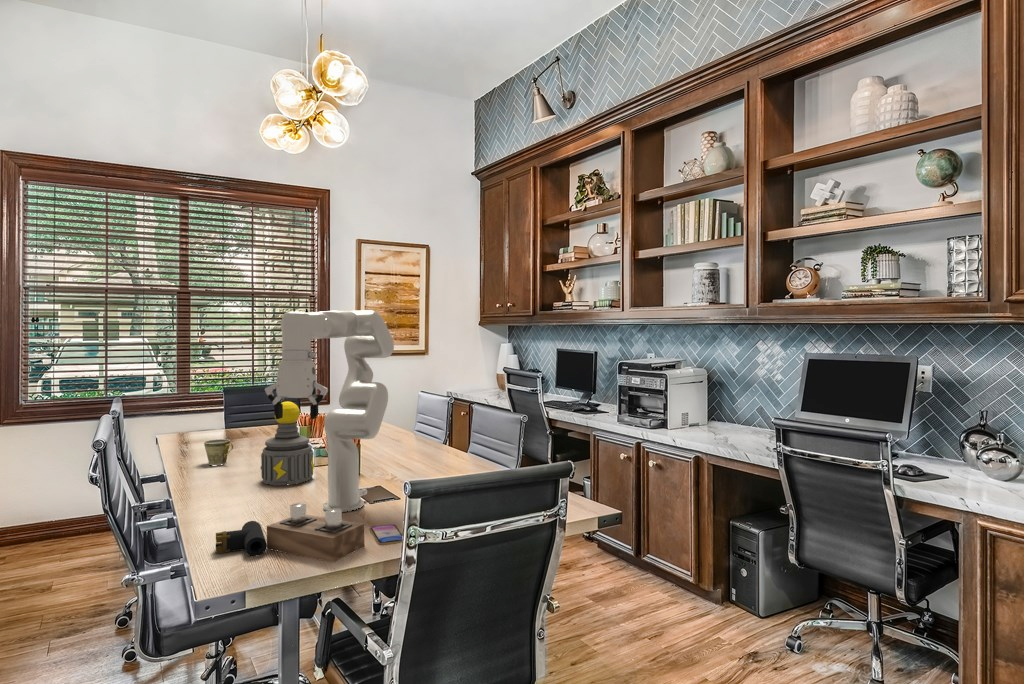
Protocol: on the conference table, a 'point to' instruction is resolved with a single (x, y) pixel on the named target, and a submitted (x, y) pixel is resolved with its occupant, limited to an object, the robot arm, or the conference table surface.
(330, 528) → the peg
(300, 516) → the peg
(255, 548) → the pipe connector
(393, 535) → the smartphone
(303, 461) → the grey lightning bolt generator
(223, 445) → the ceramic cup
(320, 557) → the plunger block
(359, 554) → the conference table surface
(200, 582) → the conference table surface
